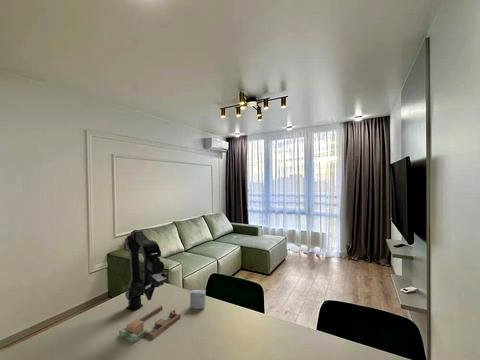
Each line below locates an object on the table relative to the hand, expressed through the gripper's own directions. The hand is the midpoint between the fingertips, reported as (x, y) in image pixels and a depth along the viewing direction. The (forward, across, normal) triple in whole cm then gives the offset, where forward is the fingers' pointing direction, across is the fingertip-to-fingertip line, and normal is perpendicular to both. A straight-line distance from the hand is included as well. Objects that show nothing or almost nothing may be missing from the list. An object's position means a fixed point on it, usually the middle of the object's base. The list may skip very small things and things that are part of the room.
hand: (149, 300), depth 112 cm
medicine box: (+12, +24, -12) cm, 29 cm away
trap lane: (+12, 0, -2) cm, 12 cm away
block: (+12, -8, 0) cm, 14 cm away
